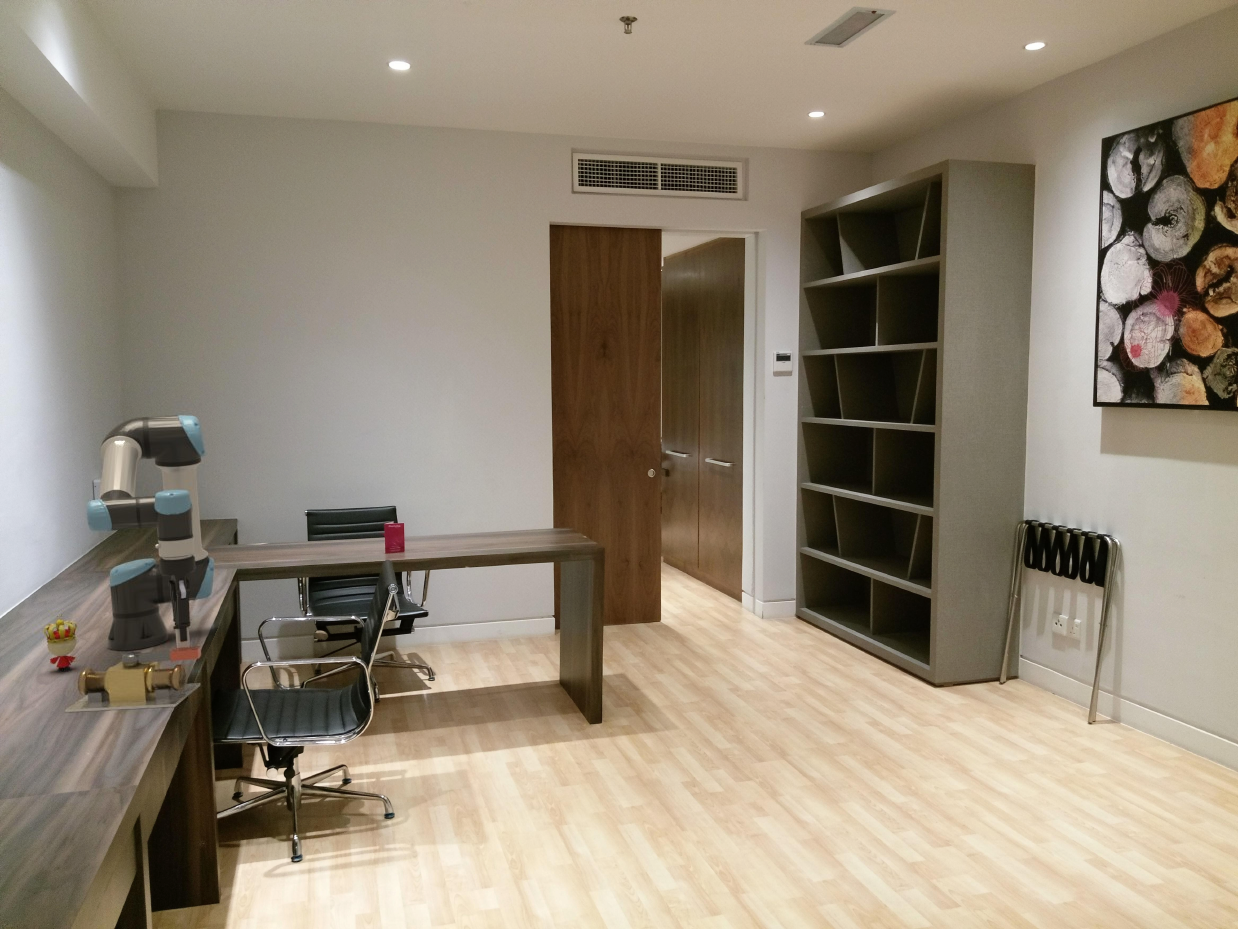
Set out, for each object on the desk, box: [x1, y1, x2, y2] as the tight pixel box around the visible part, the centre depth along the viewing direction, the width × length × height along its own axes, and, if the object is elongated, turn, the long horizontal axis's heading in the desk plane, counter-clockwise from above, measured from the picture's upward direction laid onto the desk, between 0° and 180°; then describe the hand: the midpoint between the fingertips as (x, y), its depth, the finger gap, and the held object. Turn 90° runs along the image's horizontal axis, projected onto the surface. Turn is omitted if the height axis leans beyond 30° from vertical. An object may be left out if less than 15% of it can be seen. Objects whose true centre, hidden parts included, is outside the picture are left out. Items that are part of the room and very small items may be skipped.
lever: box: [121, 645, 202, 667], centre depth 206 cm, size 16×4×2 cm, turn 103°
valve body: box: [64, 661, 201, 713], centre depth 205 cm, size 24×14×8 cm, turn 94°
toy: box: [43, 613, 78, 673], centre depth 226 cm, size 7×7×15 cm
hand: (183, 653), depth 209 cm, fingers closed
